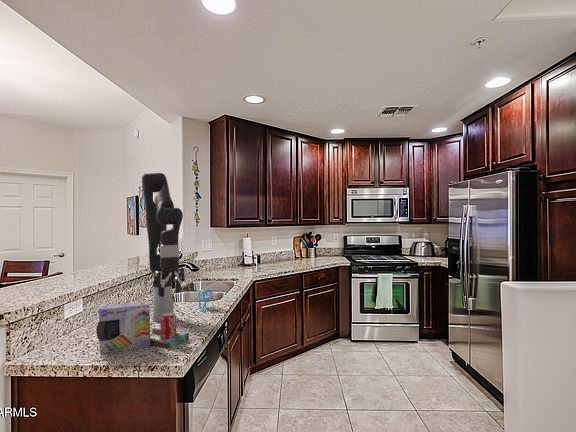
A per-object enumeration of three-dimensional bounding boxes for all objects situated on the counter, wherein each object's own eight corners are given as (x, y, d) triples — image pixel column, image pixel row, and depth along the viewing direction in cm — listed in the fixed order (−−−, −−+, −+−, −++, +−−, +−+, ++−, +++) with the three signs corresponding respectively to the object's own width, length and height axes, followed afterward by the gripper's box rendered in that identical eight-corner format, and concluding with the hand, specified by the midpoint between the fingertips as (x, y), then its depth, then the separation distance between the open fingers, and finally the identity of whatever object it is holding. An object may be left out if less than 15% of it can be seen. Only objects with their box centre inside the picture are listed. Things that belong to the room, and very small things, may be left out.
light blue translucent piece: (207, 307, 204) (206, 286, 204) (215, 309, 198) (214, 288, 198) (195, 309, 198) (195, 288, 198) (203, 311, 192) (203, 290, 193)
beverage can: (178, 340, 146) (178, 312, 146) (173, 345, 140) (173, 315, 140) (163, 340, 146) (163, 312, 146) (157, 345, 140) (158, 316, 140)
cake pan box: (95, 354, 132) (96, 307, 132) (98, 349, 137) (98, 304, 136) (150, 348, 138) (150, 304, 138) (150, 343, 143) (150, 300, 143)
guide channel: (154, 332, 157) (154, 325, 157) (188, 340, 146) (188, 332, 146) (132, 340, 147) (132, 333, 147) (167, 348, 136) (167, 341, 136)
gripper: (176, 253, 152) (176, 290, 152) (149, 256, 140) (149, 297, 140) (188, 254, 149) (189, 292, 149) (162, 257, 136) (162, 298, 136)
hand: (169, 294), depth 144 cm, fingers open, 8 cm apart
